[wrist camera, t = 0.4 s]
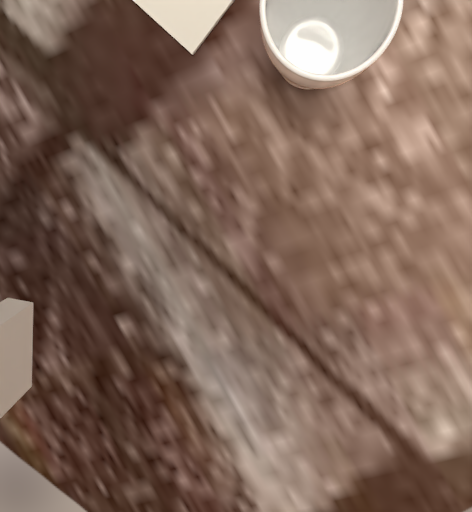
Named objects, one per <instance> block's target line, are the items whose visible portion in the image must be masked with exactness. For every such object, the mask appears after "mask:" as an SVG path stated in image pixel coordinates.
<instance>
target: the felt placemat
mask: <svg viewBox="0 0 472 512" xmlns="http://www.w3.org/2000/svg"><path fill="white" fill-rule="evenodd" d="M133 1H134V2H135V3H136V4H137V5H138V6H140V7H141V8H142V9H143V10H144V11H145V12H146V13H147V14H148V15H149V16H151V17H152V18H153V19H154V20H155V21H156V22H157V23H158V24H159V25H160V26H162V27H163V28H164V29H165V30H166V31H167V32H168V33H169V34H170V35H171V36H172V37H174V38H175V39H176V40H177V41H178V42H179V43H180V44H181V45H182V46H183V47H185V48H186V49H187V50H188V51H189V52H190V53H191V54H192V55H194V53H195V52H196V51H197V49H198V48H199V47H200V45H201V44H202V43H203V42H204V40H205V39H206V38H207V36H208V35H209V34H210V32H211V31H212V30H213V28H214V27H215V26H216V24H217V23H218V22H219V20H220V19H221V18H222V16H223V15H224V14H225V12H226V11H227V10H228V8H229V7H230V6H231V4H232V3H233V2H234V0H133Z"/></svg>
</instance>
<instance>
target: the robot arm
mask: <svg viewBox="0 0 472 512" xmlns="http://www.w3.org/2000/svg"><path fill="white" fill-rule="evenodd" d="M32 344H33V302H28V301H22V300H17V299H11V298H6V299H5V300H3V301H2V302H0V418H1V417H2V416H3V415H4V414H5V413H6V412H7V411H8V410H9V409H10V408H11V407H12V406H13V405H14V404H15V403H16V402H17V401H18V400H19V399H20V398H21V397H22V396H23V395H24V394H25V393H26V392H27V391H28V390H29V389H30V388H31V387H32Z"/></svg>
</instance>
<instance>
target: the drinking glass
mask: <svg viewBox="0 0 472 512" xmlns="http://www.w3.org/2000/svg"><path fill="white" fill-rule="evenodd" d="M402 9H403V0H260V30H261V36H262V40H263V44H264V47H265V50H266V52H267V55H268V57H269V59H270V60H271V62H272V64H273V65H274V66H275V68H276V69H277V70H278V71H279V72H280V73H281V75H282V76H283V77H284V79H285V80H286V81H287V82H289V83H290V84H291V85H293V86H295V87H297V88H301V89H325V88H331V87H335V86H338V85H341V84H344V83H346V82H348V81H350V80H352V79H353V78H355V77H357V76H358V75H360V74H361V73H362V72H364V71H365V70H366V69H367V68H369V67H370V66H371V65H372V64H373V63H374V62H375V61H376V60H377V59H378V58H379V57H380V56H381V55H382V53H383V52H384V51H385V50H386V48H387V47H388V45H389V44H390V42H391V41H392V39H393V37H394V35H395V33H396V31H397V28H398V25H399V22H400V19H401V15H402Z"/></svg>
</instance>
